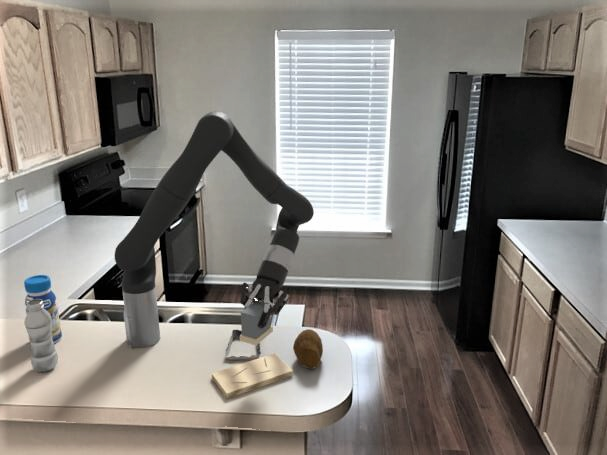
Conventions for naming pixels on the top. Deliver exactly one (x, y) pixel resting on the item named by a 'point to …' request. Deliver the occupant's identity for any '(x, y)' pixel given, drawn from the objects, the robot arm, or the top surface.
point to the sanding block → (254, 324)
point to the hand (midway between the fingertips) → (252, 324)
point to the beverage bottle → (44, 300)
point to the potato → (308, 348)
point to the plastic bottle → (40, 336)
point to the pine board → (251, 375)
